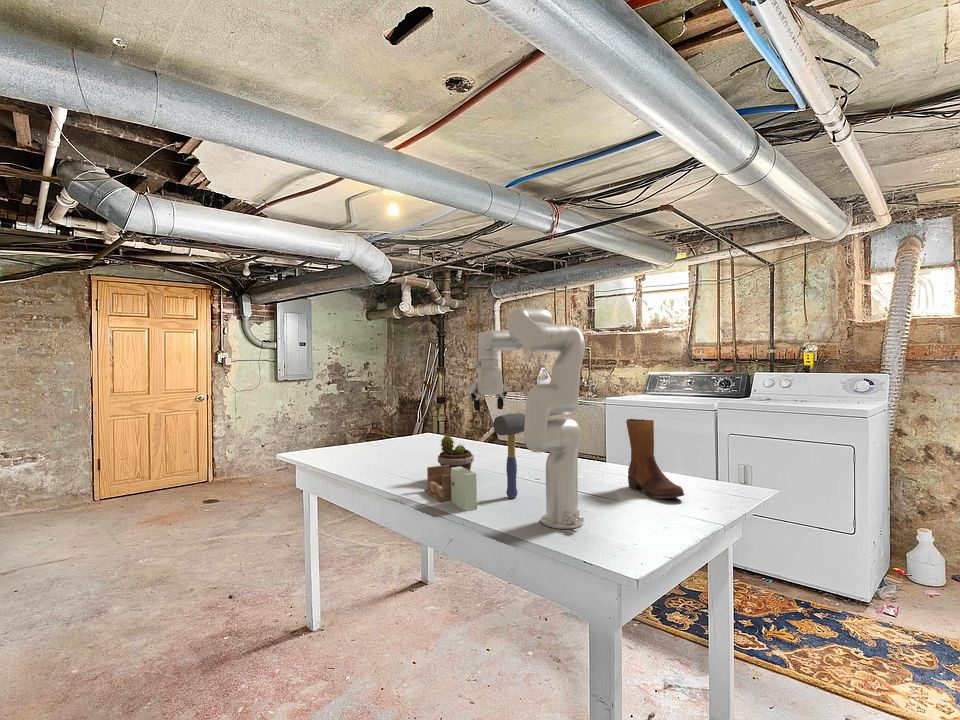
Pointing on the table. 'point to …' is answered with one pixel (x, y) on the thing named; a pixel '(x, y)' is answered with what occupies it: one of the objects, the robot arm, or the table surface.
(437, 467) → the wooden holder
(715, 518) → the table surface
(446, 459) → the flowerpot
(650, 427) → the boot
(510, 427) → the rubber mallet
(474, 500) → the door panel
